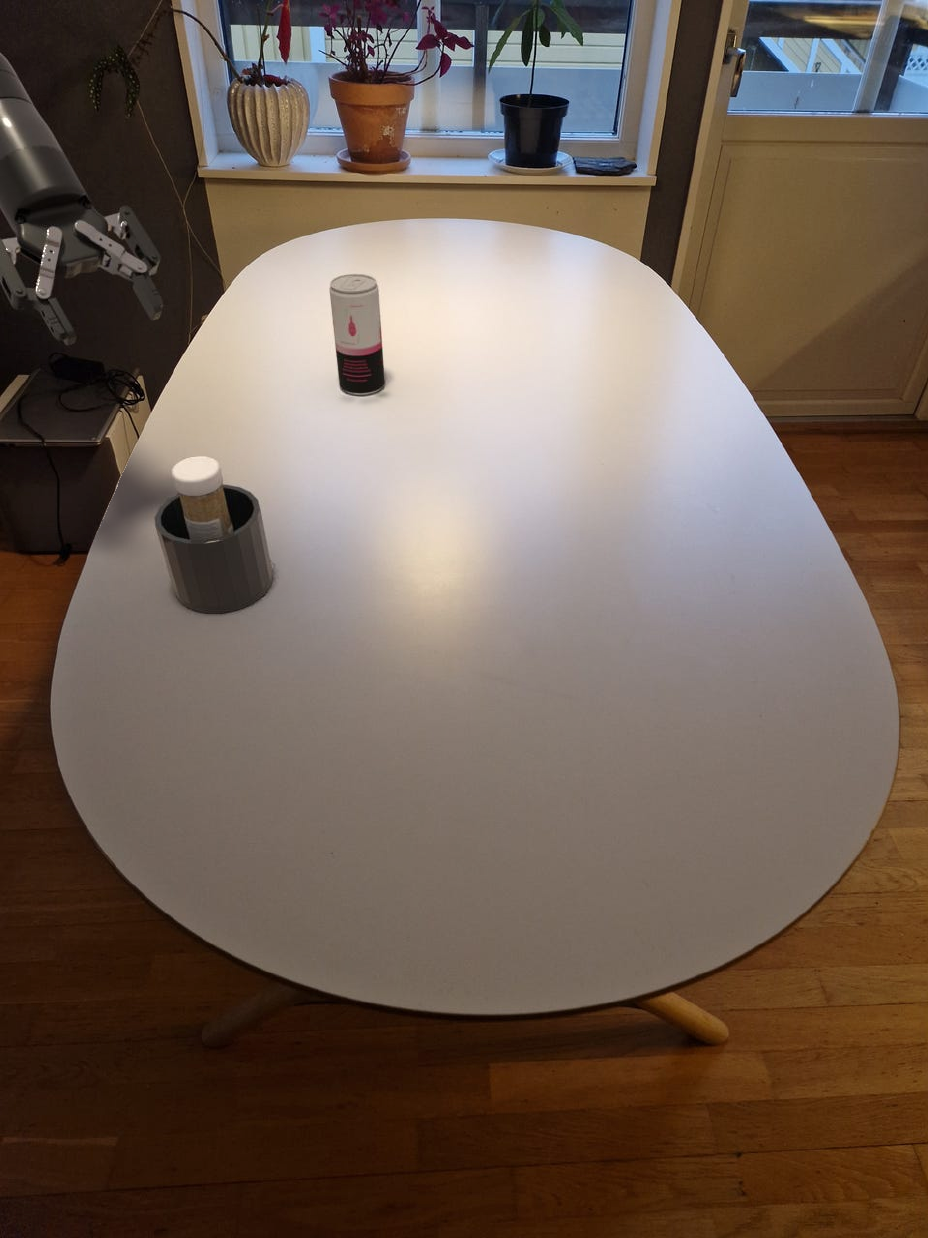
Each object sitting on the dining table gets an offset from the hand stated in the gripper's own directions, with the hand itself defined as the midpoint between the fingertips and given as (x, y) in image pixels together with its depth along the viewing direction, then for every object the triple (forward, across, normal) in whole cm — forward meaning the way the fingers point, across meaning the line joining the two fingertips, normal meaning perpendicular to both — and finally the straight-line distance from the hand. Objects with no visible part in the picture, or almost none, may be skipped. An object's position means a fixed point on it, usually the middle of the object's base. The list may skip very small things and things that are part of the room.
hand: (115, 327), depth 81 cm
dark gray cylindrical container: (+25, 0, +10) cm, 27 cm away
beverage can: (+7, +39, +28) cm, 48 cm away
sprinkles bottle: (+24, 0, +10) cm, 26 cm away
